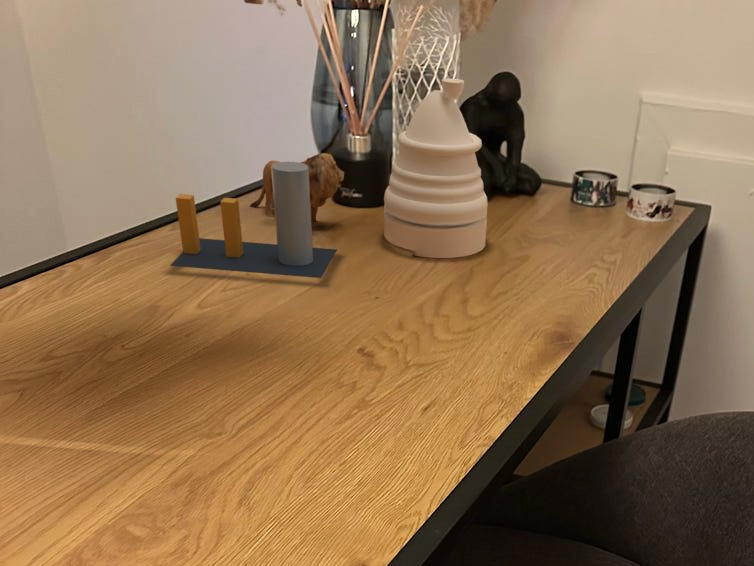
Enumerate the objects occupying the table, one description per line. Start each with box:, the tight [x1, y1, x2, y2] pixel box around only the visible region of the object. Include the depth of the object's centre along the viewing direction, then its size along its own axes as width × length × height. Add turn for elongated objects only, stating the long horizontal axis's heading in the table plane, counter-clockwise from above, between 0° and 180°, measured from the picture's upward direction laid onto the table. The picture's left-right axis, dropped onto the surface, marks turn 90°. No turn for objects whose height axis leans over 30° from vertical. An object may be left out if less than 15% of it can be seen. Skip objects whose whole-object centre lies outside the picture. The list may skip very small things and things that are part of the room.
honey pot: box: [383, 77, 489, 259], centre depth 113 cm, size 13×13×18 cm
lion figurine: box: [249, 152, 345, 224], centre depth 118 cm, size 15×5×9 cm, turn 59°
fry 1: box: [175, 193, 201, 254], centre depth 106 cm, size 2×2×6 cm
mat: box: [170, 237, 338, 279], centre depth 108 cm, size 17×10×1 cm, turn 86°
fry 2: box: [219, 197, 243, 258], centre depth 106 cm, size 2×2×6 cm
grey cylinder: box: [271, 161, 314, 266], centre depth 105 cm, size 4×4×10 cm
